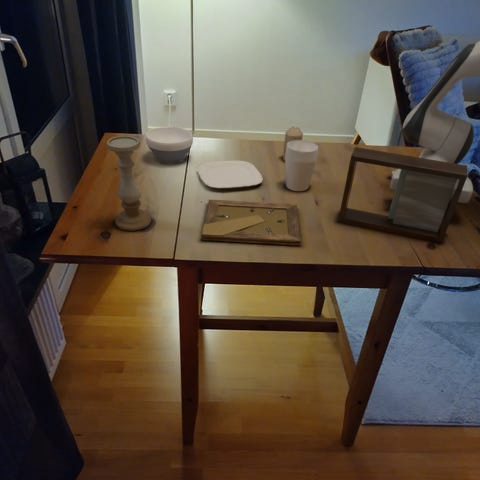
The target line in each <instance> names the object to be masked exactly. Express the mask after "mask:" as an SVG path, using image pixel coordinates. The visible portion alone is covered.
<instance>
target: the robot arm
mask: <svg viewBox="0 0 480 480" xmlns="http://www.w3.org/2000/svg"><path fill="white" fill-rule="evenodd" d="M473 77H480V40H479V41H477V42H476V43H469V44H467V45H466V46H465V47H464V48H463V49H462V50H461V51H460V52H459V53H458V54H457V55H456V57H454V59H453V60H452V61H451V62H450V63H449V65H448V66H447V67H446V68H445V70H444V71H443V72H442V74H441V75H440V76H439V78H437V80H436V81H435V82H434V84H433V85H432V86H431V87H430V89H429V90H428V92H427V93H426V94H425V95H424V97H423V98H422V99H421V100H420V101H419V102H418V103H417V105H415V106H414V108H413V109H412V110H410V112H409V113H408V114H407V115H406V118H405V120H404V122H403V124H402V128H401V131H402V134H403V136H404V138H405V140H406V142H407V143H411V144H414V145H417V146H421V147H423V149H422V151H421V152H420V154H419V156H418V157H419V158H425V159H431V160H437V161H443V162H449V163H455V164H460V163H461V162H462V161H463V160H464V159H465V157H466V156H467V154H468V153H469V151H470V149H471V147H472V145H473V142H474V139H475V129H474V126H473V123H470V122H469V121H466V120H465V119H462V118H459V117H457V116H454V115H452V114H450V113H447V112H445V111H442V110H440V109H439V108H438V106H439V105H440V104H441V102H442V101H443V100H444V99H445V98H446V96H447V95H448V94H449V93H450V91H451V90H452V89H453V88H454V86H455V85H456V84H458V83H459V82H460V81H462V80H464V79H467V78H473ZM400 172H401V169H397V168H396V169H395V170H392V172H391V174H390V175H391V180H390V183H389V189H391V190H392V191H395V189H396V186H397V182H398V179H399V175H400ZM467 173H468V174H469V172H468V171H467ZM473 192H474V186H473V182H472V180H471V178H469V175H468V176H467V179H466V181H465V184H464V186H463V189H462V192H461V194H460V197H459V199H458V202H457V203H461V204H467V203H469V202H470V200H471V198H472V196H473Z"/></svg>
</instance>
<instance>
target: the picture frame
mask: <svg viewBox="0 0 480 480" xmlns="http://www.w3.org/2000/svg"><path fill="white" fill-rule="evenodd" d="M201 240H202V241H212V242H213V241H214V242H231V243H233V242H234V243H246V244H247V243H248V244H250V243H251V244H266V245H267V244H268V245H284V246H301V242H302V239H301V230H300V221H299V211H298V204H296V203H281V202H280V203H279V202H264V201H263V202H260V201H245V200H243V201H242V200H225V199H208V201H207V206H206V213H205V217H204V223H203V228H202V233H201Z"/></svg>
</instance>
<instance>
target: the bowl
mask: <svg viewBox="0 0 480 480" xmlns="http://www.w3.org/2000/svg"><path fill="white" fill-rule="evenodd" d="M145 142H146V145H147V147H148V149H149V151H151V153H152V155H153V156H154V157H155V158H156V161H158V162H160V163H163V164H167V165H170V164H173V165H174V164H179V163H181V162H183V161H184V160H185V158H186V156H187V155H188V154H189V152H190V150H191V148H192V146H193V144H194V136H193V133H192V131H190V130H189V129H186V128H183V127H178V126H159V127H154V128H152V129H149V130H148V131H147V132H146V133H145Z"/></svg>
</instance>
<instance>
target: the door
mask: <svg viewBox="0 0 480 480" xmlns="http://www.w3.org/2000/svg"><path fill="white" fill-rule="evenodd" d="M407 171H408V170H403V169H401V172H400V175H399V179H398V182H397V186H396V189H395V190H394V193H393V197H392V200H391V204H390V206H389V207H390V208H389V211H388V215H387V216H388V218H389V219H394V216H395V212H396V209H397V206H398V202H399V199H400V195H401V192H402V189H403V185H404V182H405V178H406V175H407Z"/></svg>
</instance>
